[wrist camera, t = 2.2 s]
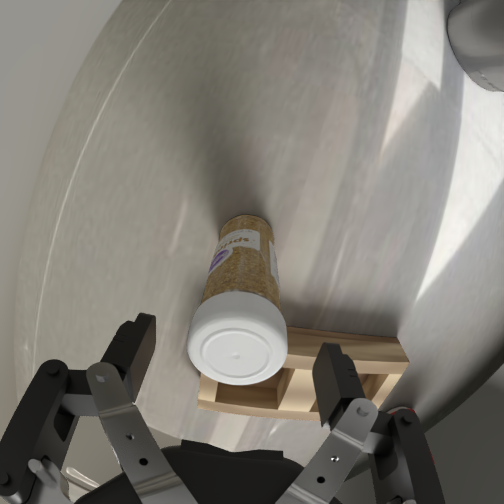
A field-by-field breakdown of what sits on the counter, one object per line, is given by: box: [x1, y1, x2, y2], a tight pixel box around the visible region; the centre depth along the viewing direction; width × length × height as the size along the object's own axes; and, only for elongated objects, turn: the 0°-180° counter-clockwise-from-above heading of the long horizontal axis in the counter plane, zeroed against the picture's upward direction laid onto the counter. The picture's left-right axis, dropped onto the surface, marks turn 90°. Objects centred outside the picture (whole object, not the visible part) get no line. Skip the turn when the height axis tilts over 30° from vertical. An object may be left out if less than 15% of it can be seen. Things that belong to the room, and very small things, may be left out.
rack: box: [197, 326, 410, 421], centre depth 29 cm, size 10×20×4 cm, turn 79°
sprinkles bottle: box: [187, 215, 288, 385], centre depth 19 cm, size 5×4×13 cm
